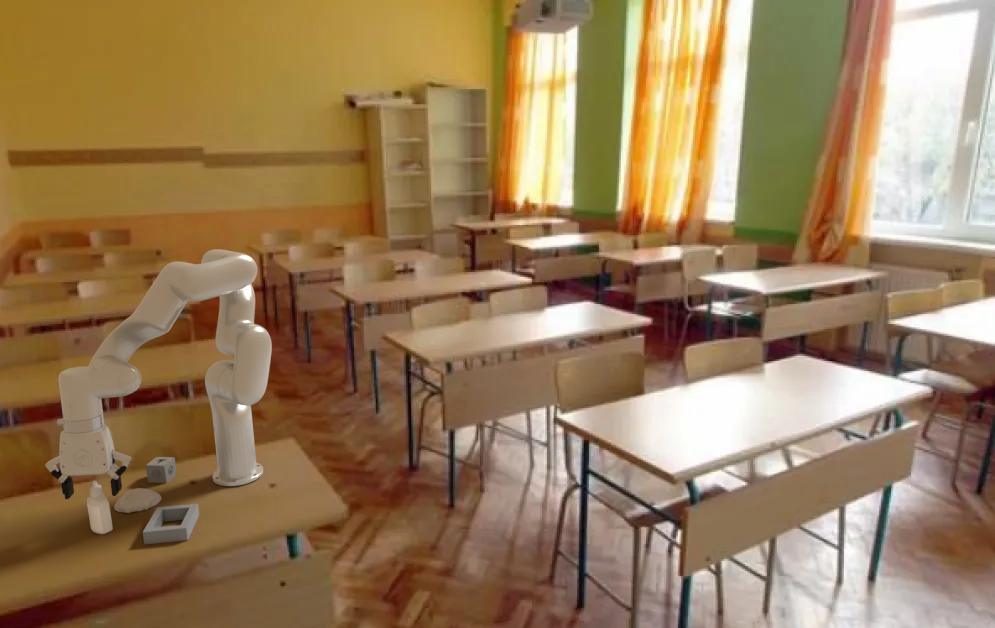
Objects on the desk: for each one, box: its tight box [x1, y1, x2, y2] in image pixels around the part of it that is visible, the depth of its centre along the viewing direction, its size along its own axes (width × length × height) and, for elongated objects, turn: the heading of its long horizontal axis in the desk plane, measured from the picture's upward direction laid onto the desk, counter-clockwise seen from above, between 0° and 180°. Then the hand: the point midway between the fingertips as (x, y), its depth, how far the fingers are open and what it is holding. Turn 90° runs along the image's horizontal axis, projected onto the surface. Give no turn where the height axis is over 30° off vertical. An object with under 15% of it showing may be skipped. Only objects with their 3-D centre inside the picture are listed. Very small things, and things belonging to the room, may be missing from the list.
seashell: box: [113, 488, 162, 514], centre depth 170 cm, size 10×6×10 cm
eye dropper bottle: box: [86, 480, 114, 535], centre depth 158 cm, size 4×6×12 cm
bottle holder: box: [142, 503, 200, 545], centre depth 159 cm, size 11×9×3 cm
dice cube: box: [145, 456, 178, 484], centre depth 183 cm, size 5×5×5 cm
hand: (93, 494), depth 157 cm, fingers open, 9 cm apart
